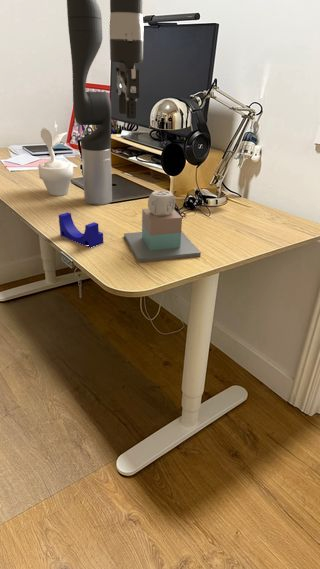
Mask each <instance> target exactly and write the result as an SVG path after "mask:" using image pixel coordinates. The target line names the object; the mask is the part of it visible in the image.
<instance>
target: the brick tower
mask: <svg viewBox="0 0 320 569" xmlns="http://www.w3.org/2000/svg"><path fill="white" fill-rule="evenodd" d="M141 213H142V216H141V217H142V218H141V220H142V221H141V222H142V223H141V231H139V232H138V231H137V232H126V233H124V234H123V237H124V239H125V241H126V243H127V244H128V247H129V248H130V250H131V252H132V254H133V256H134V257H135V259H136V261H137V263H146V262H157V261H166V260H176V259H186V258H194V257H195V258H196V257H201V254H202V252H201V251H200V250H199V248H197V247H196V245H195V244H194V243H193V241H191V240H190V239H189V238H188V237H187V235H186V234H185V232H183V231H182V228H183V227H182V226H183V217H182V216H181V215H180V213H179V212H178V211H177V210H175V209H174V210H173V212H172V213H171V214H170V215H168V216H156V215H154V214H152V213H151V212H150V210H149V208H142V210H141Z"/></svg>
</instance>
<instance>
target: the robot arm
mask: <svg viewBox="0 0 320 569" xmlns="http://www.w3.org/2000/svg"><path fill="white" fill-rule="evenodd" d="M66 10H67V26H68V37H69V45H70V46H69V47H70V55H71V66H72V67H71V69H72V103H73V104H72V106H73V115H74V119H75V122H76V123H77V124H78V126H79V125H80V126H97V128H96V129H95V130H94V131H93V132H92V133H89V134H88V135H85V136H83V137H81V140H80V148H81V149H80V150H81V163H82V181H83V194H84V197H83V198H84V202H85V203H87V204H89V205H96V206H97V205H106V204H110V203H112V201H113V184H112V183H113V182H112V181H113V180H112V178H113V177H112V153H111V152H112V151H111V150H112V149H111V148H112V147H111V142H112V102H111V97H110V95H109V94H108V92H105V91H86V90H87V89H86V87H87V86H86V85H87V78H88V74H89V71H90V68H91V66H92V64H93V62H94V60H95V58H96V56H97V54H98V53H99V50H100V48H101V45H102V43H103V21H102V20H103V19H102V12H101V9H100V6H99V3H98V2H97V0H66ZM109 11H110V15H109V52H110V53H109V56H110V58H109V60H110V61H111V62H113V63H119V66H116V67H115V77H116V78H115V87H116V88H115V92H116V95H117V97H118V113H119V114H121V115H122V114H123V115H125V117H126V118H127V119H129V120H130V119H133V120H134V119H136V118H137V102H138V99H140V70H139V68H136V64H139V63H140V64H142V63H143V61H144V20H143V0H109Z"/></svg>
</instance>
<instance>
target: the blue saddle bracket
mask: <svg viewBox="0 0 320 569" xmlns="http://www.w3.org/2000/svg"><path fill="white" fill-rule="evenodd" d="M58 224H59V233H60V234H59V235H60V237H62V238H65V239H67V238H68V240H70V241H72V240H73V241H72V242H74V241H76V242H75V243H77V242H78V243H77V244H79V243H81V244H80V245H82V244H83V245H82V246H84V245H89V246H88V247H87V248H89V247H90V248H89V249H92V248H91V247H93V246H95V247H97V246H96V245H98V246H100V245H103V244H104V233H103V232H101V231H99V230H100V229H99V228H100V227H99V222H98V223H97V222H95V221H94V222H90V223H88V224H85V226H84V227H85V228H84V233H82V232H81V231H80V230H79V229H78V227H76V225H75V223H74V221H73V217H72V213H70V212H68V211H67V212H64V213H61V214H58ZM99 244H100V245H99ZM93 248H94V247H93Z"/></svg>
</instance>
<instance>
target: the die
mask: <svg viewBox="0 0 320 569" xmlns="http://www.w3.org/2000/svg"><path fill="white" fill-rule="evenodd" d="M175 207H176V198H175V196H174V194H173V193H172V192H171V191H168V190H155V191H152V192H151V194H150V195H149V197H148V201H147V209H149V210H150V212H151V213H152V214H154V215H156V216H168V215H170V214H171V213H172V212H173V210H175Z"/></svg>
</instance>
